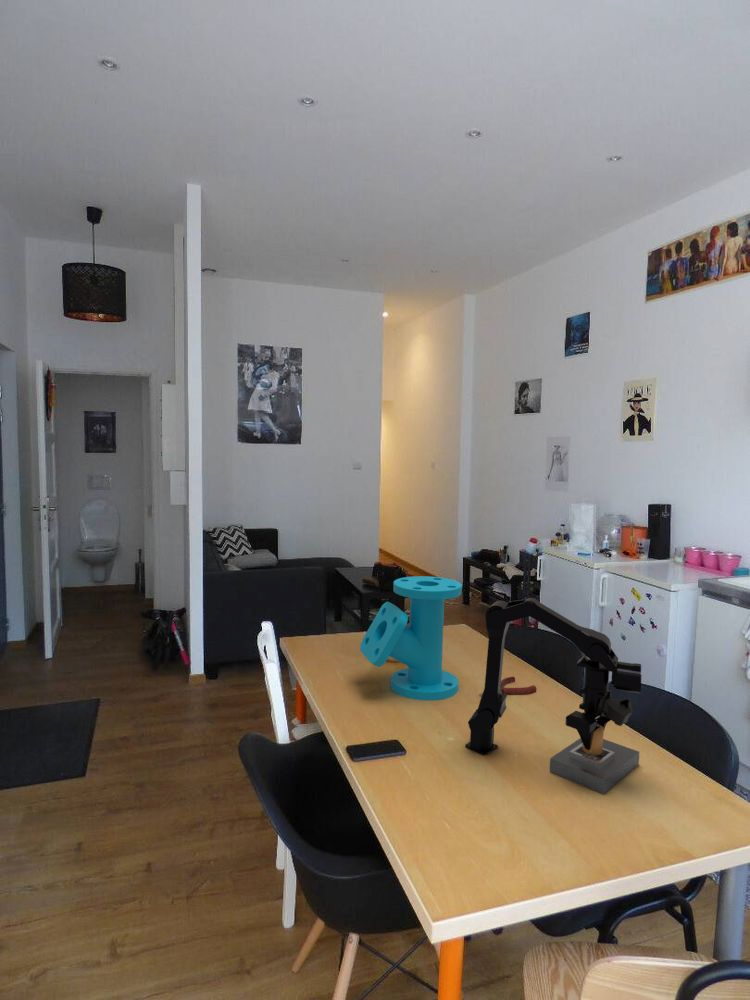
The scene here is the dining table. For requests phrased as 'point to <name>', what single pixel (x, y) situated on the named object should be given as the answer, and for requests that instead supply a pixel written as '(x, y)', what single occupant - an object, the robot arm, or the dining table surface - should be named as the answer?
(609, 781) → the sink basin plate
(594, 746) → the cylinder
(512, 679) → the pliers
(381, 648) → the pipe fitting
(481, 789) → the dining table surface
